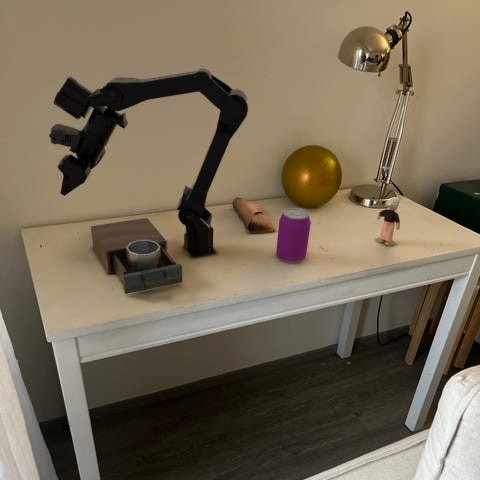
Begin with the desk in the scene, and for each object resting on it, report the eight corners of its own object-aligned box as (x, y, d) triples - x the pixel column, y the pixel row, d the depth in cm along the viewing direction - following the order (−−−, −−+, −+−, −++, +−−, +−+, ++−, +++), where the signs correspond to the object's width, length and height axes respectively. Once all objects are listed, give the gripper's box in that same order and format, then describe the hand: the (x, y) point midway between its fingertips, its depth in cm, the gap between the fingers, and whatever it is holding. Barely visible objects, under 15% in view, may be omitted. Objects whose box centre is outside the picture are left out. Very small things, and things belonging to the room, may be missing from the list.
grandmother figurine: (400, 244, 138) (411, 199, 130) (393, 248, 135) (404, 203, 128) (375, 234, 142) (385, 191, 134) (368, 238, 139) (377, 194, 132)
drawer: (189, 290, 111) (188, 273, 109) (130, 303, 106) (129, 286, 103) (162, 256, 124) (161, 240, 121) (108, 266, 118) (106, 250, 116)
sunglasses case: (277, 229, 140) (267, 211, 136) (255, 243, 141) (244, 225, 136) (258, 205, 154) (248, 187, 150) (238, 217, 155) (228, 200, 151)
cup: (154, 260, 119) (153, 237, 116) (165, 275, 114) (164, 251, 111) (124, 266, 116) (122, 242, 113) (134, 281, 111) (132, 257, 108)
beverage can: (279, 265, 125) (284, 219, 118) (272, 250, 131) (276, 206, 124) (309, 263, 126) (316, 218, 119) (301, 249, 132) (306, 206, 125)
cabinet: (167, 262, 123) (166, 240, 119) (108, 274, 117) (106, 251, 114) (148, 238, 133) (146, 217, 130) (93, 247, 127) (90, 226, 124)
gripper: (75, 100, 118) (49, 155, 125) (50, 120, 102) (21, 182, 110) (118, 129, 121) (90, 181, 129) (99, 153, 106) (68, 210, 113)
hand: (68, 187), depth 120 cm, fingers open, 9 cm apart
